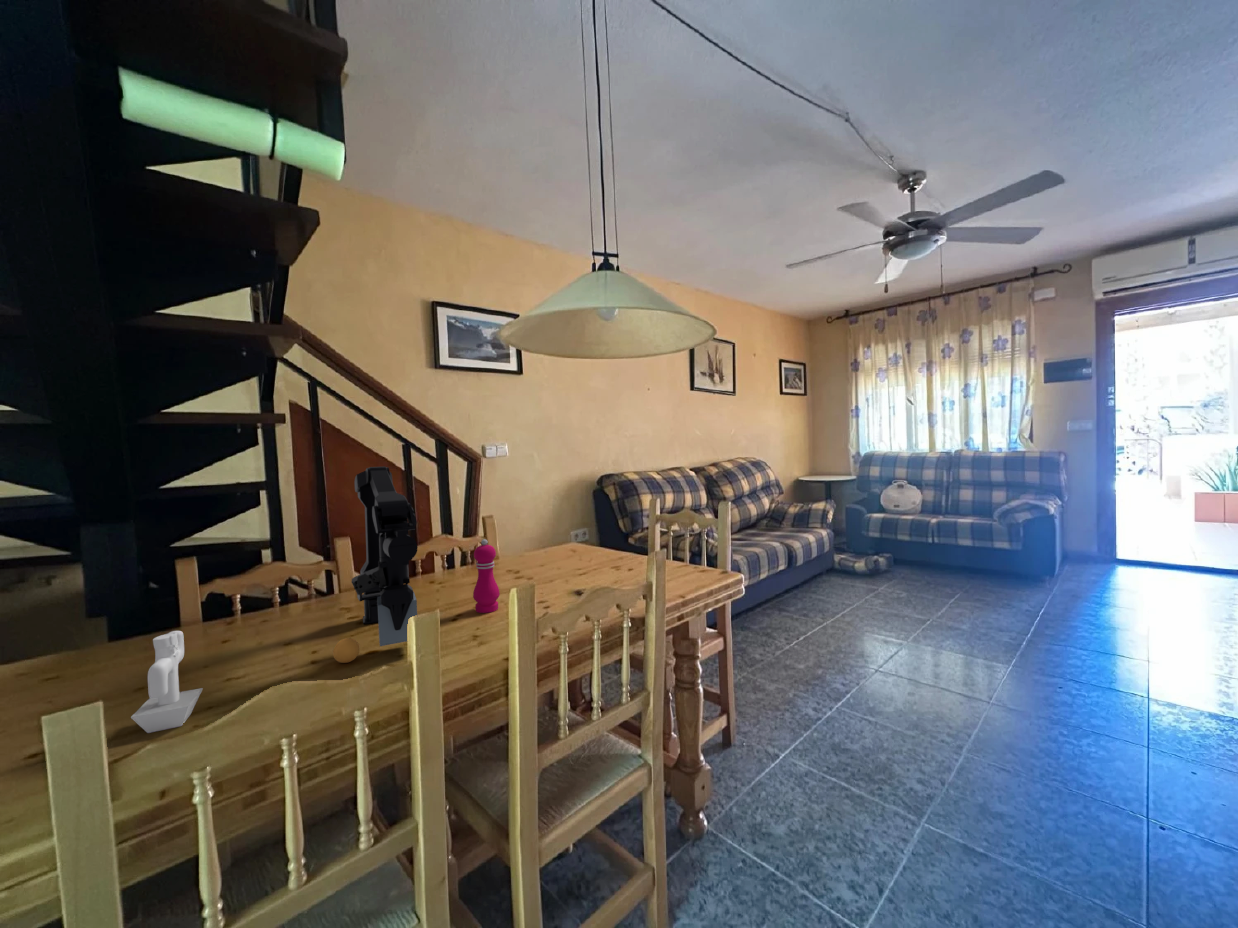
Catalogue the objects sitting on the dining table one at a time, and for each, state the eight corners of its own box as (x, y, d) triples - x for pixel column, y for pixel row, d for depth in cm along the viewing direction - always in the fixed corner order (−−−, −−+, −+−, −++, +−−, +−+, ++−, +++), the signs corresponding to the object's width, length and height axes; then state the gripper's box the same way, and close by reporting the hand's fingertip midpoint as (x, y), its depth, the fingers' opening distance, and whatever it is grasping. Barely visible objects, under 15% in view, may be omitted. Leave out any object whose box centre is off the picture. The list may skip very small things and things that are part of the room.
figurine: (128, 743, 78) (123, 648, 77) (153, 715, 86) (149, 630, 86) (187, 731, 81) (182, 640, 80) (206, 705, 89) (201, 622, 89)
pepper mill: (493, 614, 136) (490, 541, 135) (468, 613, 137) (466, 541, 137) (504, 606, 143) (501, 537, 142) (481, 605, 144) (478, 537, 144)
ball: (350, 630, 109) (363, 647, 110) (328, 645, 107) (341, 663, 108) (351, 637, 105) (364, 655, 106) (327, 653, 103) (341, 671, 104)
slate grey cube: (378, 634, 113) (377, 596, 113) (415, 628, 116) (413, 591, 116) (379, 646, 106) (377, 605, 106) (418, 639, 110) (416, 599, 109)
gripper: (354, 552, 115) (357, 618, 116) (351, 568, 99) (355, 645, 99) (405, 547, 120) (408, 610, 121) (412, 561, 104) (415, 634, 104)
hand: (396, 624), depth 111 cm, fingers closed on slate grey cube, 8 cm apart
